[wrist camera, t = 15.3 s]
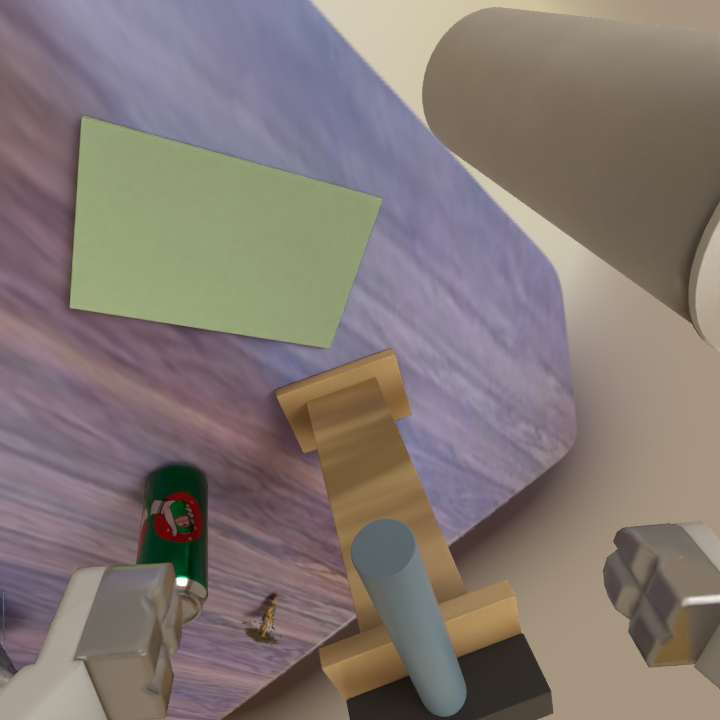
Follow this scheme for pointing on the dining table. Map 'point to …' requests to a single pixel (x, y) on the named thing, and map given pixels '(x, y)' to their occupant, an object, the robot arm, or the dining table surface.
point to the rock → (5, 667)
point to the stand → (383, 515)
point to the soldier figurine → (267, 616)
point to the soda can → (178, 532)
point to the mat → (212, 239)
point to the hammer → (436, 646)
